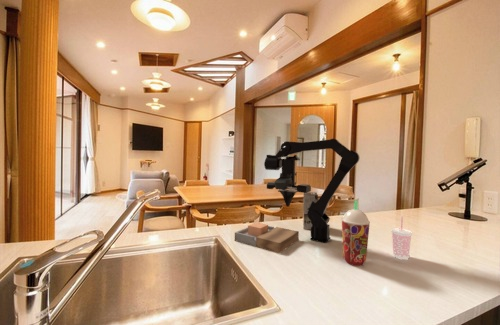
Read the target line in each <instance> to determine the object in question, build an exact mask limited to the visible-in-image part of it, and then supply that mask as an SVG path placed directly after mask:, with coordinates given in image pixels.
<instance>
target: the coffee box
mask: <svg viewBox="0 0 500 325" xmlns="http://www.w3.org/2000/svg"><path fill="white" fill-rule="evenodd" d="M315 199H316V200H317V201H318V200H319V195H318V193H317V192H314V191H313V192H312V191H310V192H307V193H303V204H302V212H303V214H302V217H303V220H302V223H303V224H302V225H303V226H302V228H303V229H304V230H311V227H312V222H311V220H310V219H309V218H308V215H307V213H308V211H309V210H307V209H308V208H309V207H310V206H311V203H312V201H313V200H315Z"/></svg>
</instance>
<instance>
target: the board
mask: <svg viewBox="0 0 500 325" xmlns="http://www.w3.org/2000/svg"><path fill="white" fill-rule="evenodd" d="M299 232H300V231H298V230H294V229H290V228H284V227H278V226H276V227H274V229H272V230H270V231H268V232H266V233H264V234H262V235H260V236H258V237H256V246H255V247H257V248H261V249H265V250H268V251H272V252H275V253H279V254H280V253H283V251H285V250H286V249H287V248H289V247H290V246H292V245H293V244H295V243H296V242H298V241H299V239H300V238H299V236H300V233H299Z"/></svg>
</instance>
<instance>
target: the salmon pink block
mask: <svg viewBox="0 0 500 325" xmlns="http://www.w3.org/2000/svg"><path fill="white" fill-rule="evenodd" d="M268 226H269V224H266V223H263V222H262V223H261V222H256V221H255V222H252V223H251V224H249V225H247V227H248V234H250V235H254V236H260V235H262V234H264V233H266V232H268Z"/></svg>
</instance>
